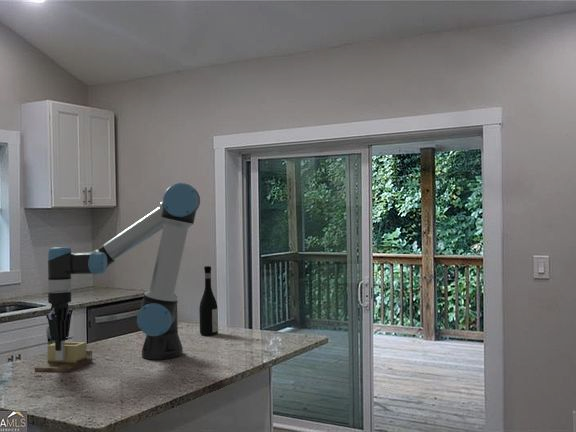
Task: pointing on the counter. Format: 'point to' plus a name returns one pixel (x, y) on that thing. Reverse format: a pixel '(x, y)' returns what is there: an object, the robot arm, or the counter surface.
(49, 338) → the beverage can
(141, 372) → the counter surface
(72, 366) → the wall board
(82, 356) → the frame
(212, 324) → the wine bottle
